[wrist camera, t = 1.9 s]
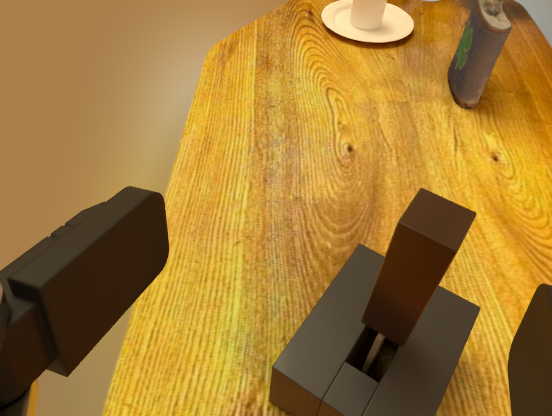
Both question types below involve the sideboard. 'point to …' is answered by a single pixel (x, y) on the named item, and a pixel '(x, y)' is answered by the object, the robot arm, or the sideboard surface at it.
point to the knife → (414, 267)
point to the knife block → (349, 338)
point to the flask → (478, 51)
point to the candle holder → (367, 20)
